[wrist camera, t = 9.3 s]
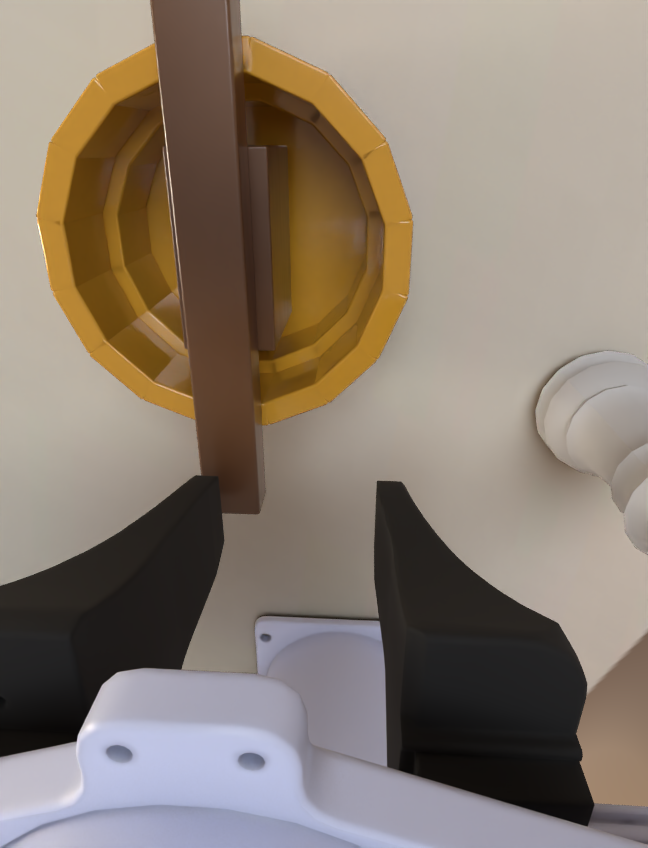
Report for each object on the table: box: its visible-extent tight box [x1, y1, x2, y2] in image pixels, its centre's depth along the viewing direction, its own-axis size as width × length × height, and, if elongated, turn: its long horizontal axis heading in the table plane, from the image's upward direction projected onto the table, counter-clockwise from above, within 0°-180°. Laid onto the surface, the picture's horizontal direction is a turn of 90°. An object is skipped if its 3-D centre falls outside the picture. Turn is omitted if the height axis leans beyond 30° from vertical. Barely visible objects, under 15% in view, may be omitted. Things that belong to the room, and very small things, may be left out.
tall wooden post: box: [150, 0, 292, 514], centre depth 16 cm, size 14×2×5 cm, turn 0°
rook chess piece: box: [535, 350, 648, 555], centre depth 18 cm, size 4×4×8 cm
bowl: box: [36, 36, 413, 425], centre depth 17 cm, size 9×9×6 cm
